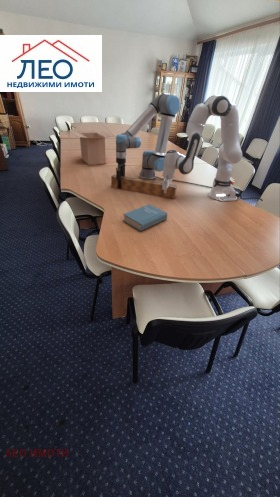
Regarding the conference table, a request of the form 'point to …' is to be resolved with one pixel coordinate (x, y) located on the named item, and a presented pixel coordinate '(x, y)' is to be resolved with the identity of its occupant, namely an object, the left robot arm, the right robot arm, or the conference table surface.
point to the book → (144, 217)
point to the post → (144, 186)
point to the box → (92, 146)
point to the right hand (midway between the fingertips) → (166, 191)
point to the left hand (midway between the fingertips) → (120, 186)
